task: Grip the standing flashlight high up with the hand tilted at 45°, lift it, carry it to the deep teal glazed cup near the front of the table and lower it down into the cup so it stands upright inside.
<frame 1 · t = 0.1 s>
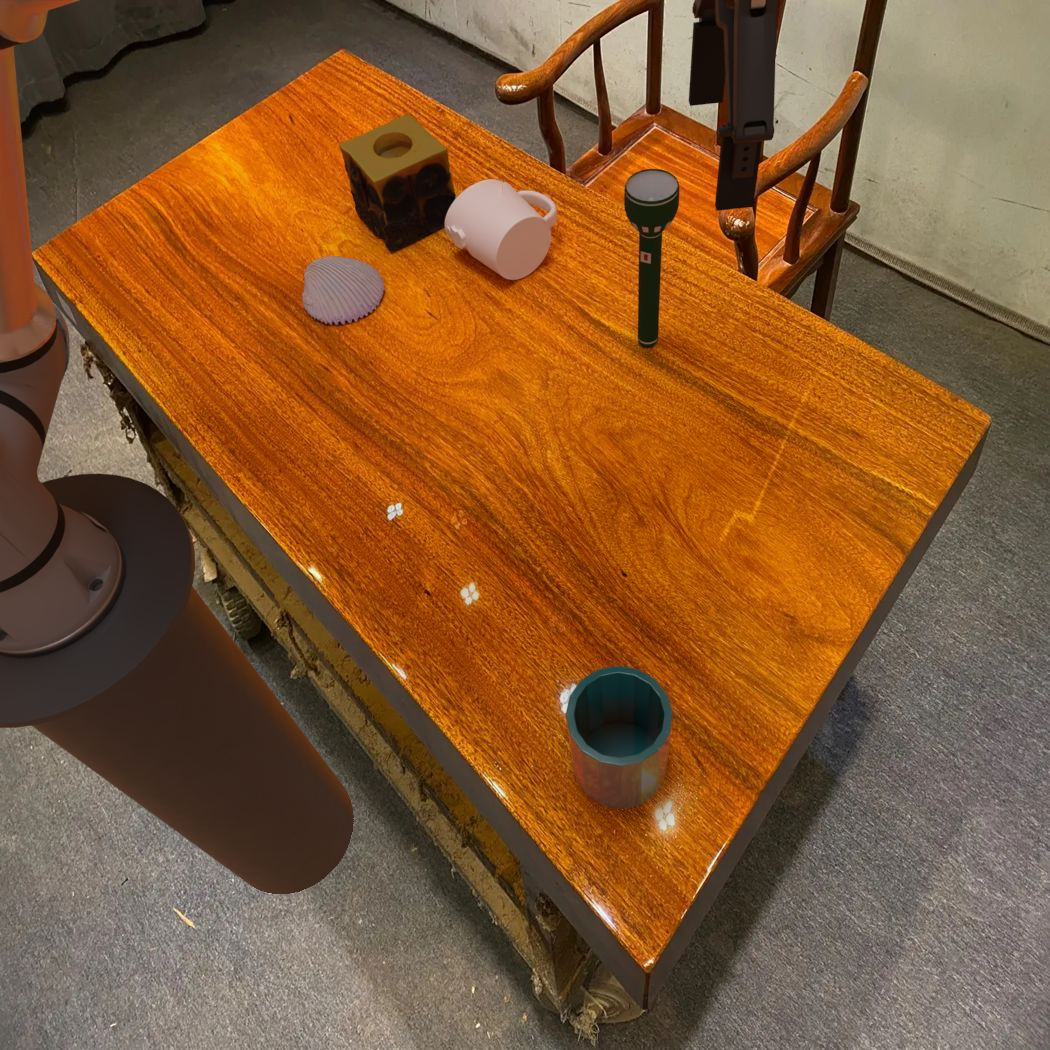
hand: (718, 151, 73), 29 cm above the table, tool pointing down, fingers open, 13 cm apart
flashlight: (647, 343, 102), on the table
cup: (619, 762, 76), on the table
mug: (512, 253, 113), on the table
seashell: (343, 296, 111), on the table
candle: (407, 218, 118), on the table
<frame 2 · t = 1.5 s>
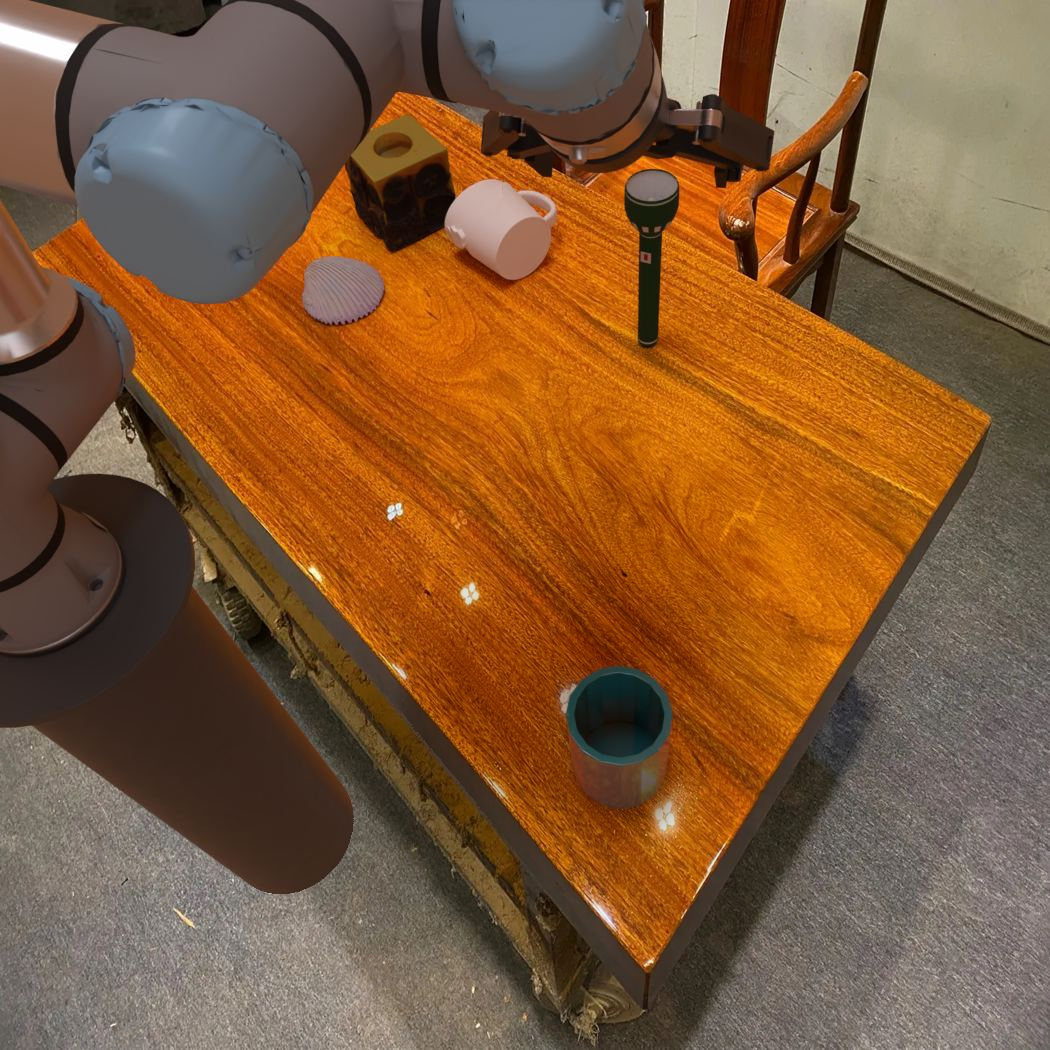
hand: (634, 164, 72), 29 cm above the table, tool tilted 45°, fingers open, 13 cm apart
nothing on the table moved.
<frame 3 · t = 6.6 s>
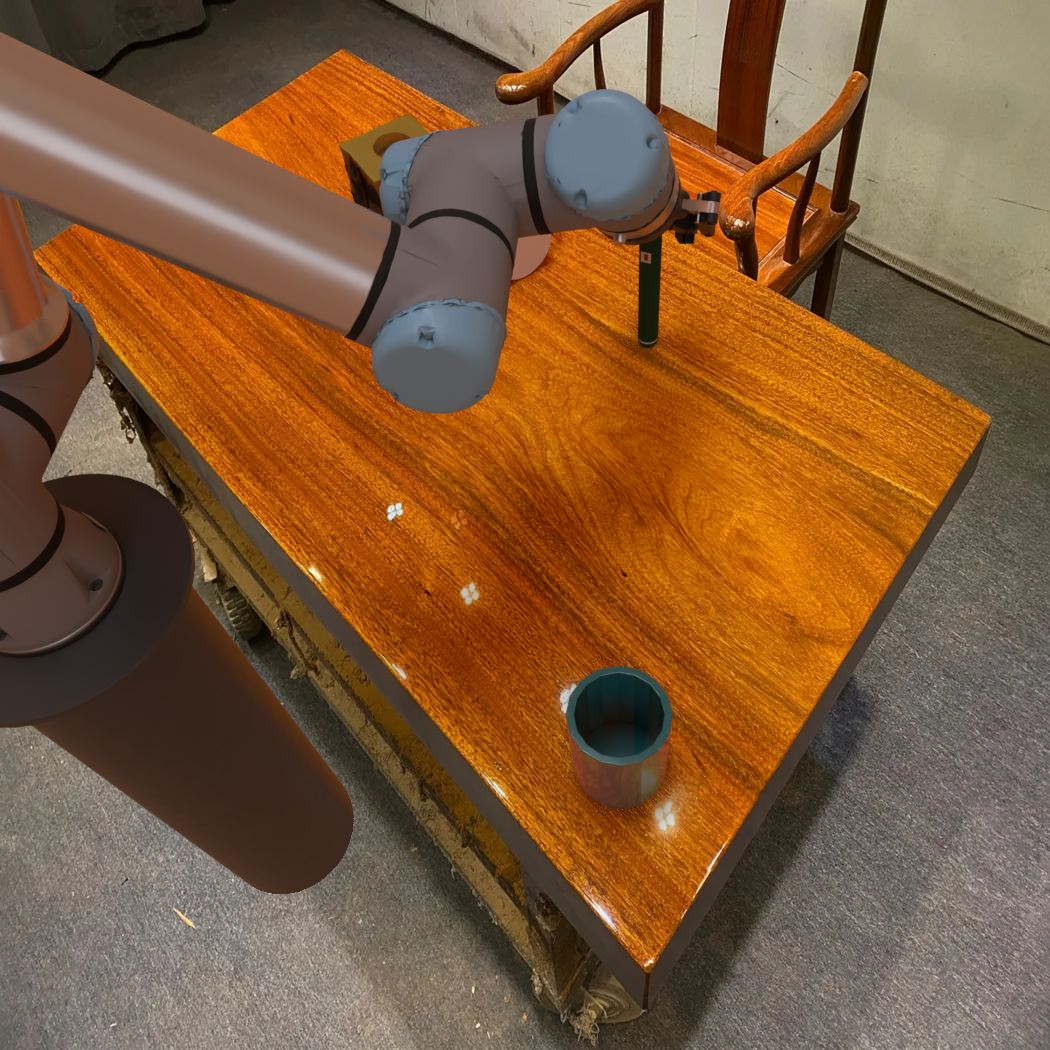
hand: (655, 227, 94), 12 cm above the table, tool tilted 45°, fingers closed on flashlight, 5 cm apart
flashlight: (647, 343, 102), on the table, touching gripper
everything else where it was.
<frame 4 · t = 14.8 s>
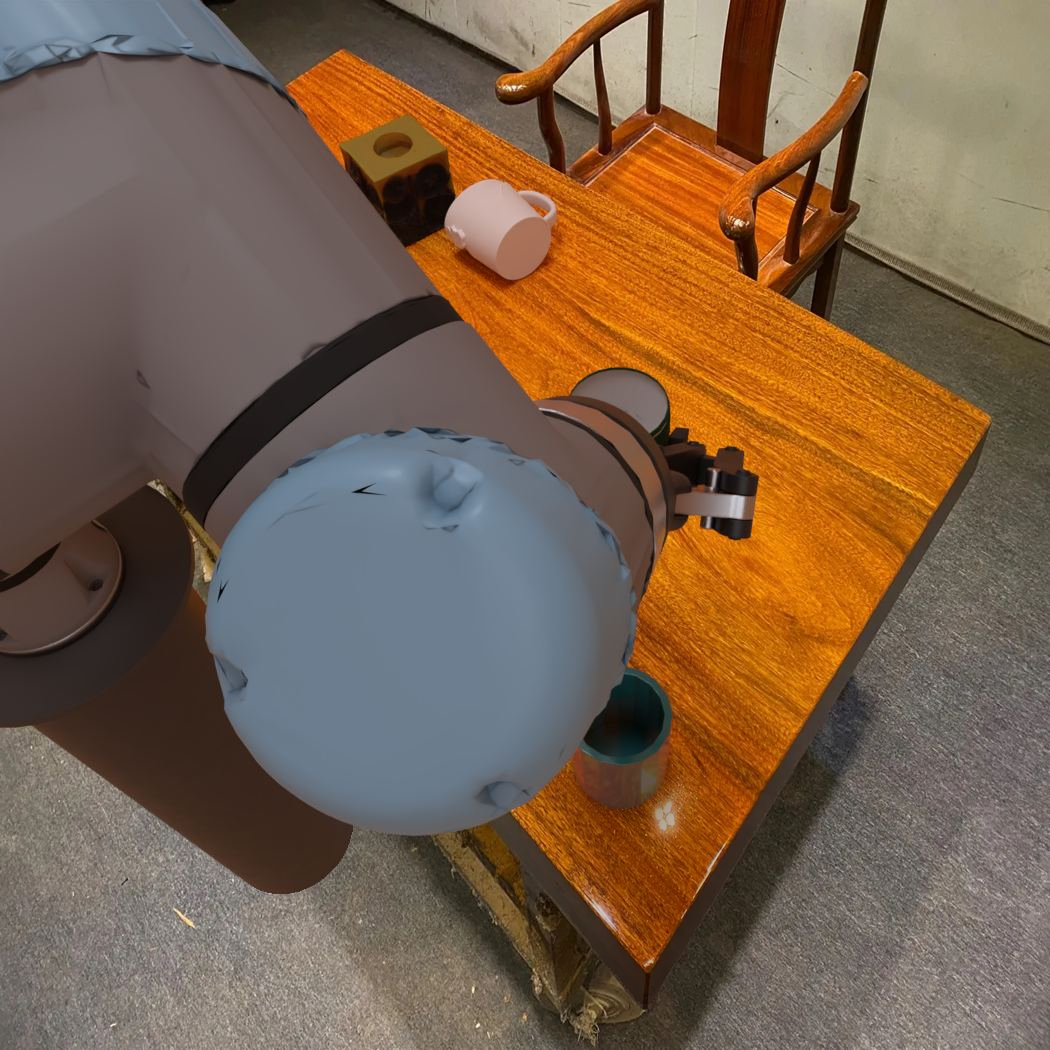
hand: (628, 445, 53), 32 cm above the table, tool tilted 45°, fingers closed on flashlight, 5 cm apart
flashlight: (618, 609, 61), point 20 cm above the table, touching gripper
everything else where it was.
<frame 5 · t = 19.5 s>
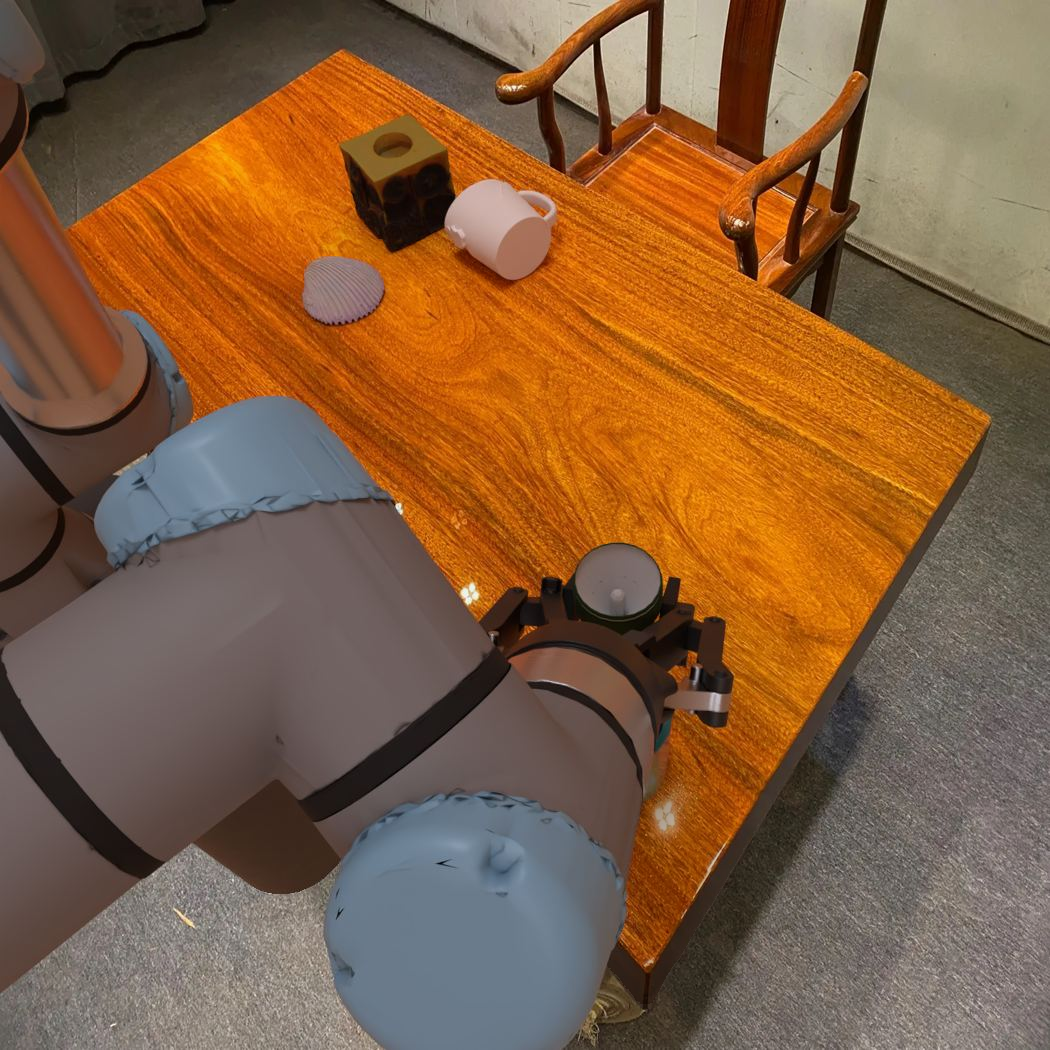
hand: (627, 591, 60), 21 cm above the table, tool tilted 45°, fingers closed on flashlight, 5 cm apart
flashlight: (618, 719, 68), point 9 cm above the table, touching gripper
everything else where it was.
when the fingers open (13 cm above the table, at t = 23.1 s): flashlight stays where it is, resting on cup.
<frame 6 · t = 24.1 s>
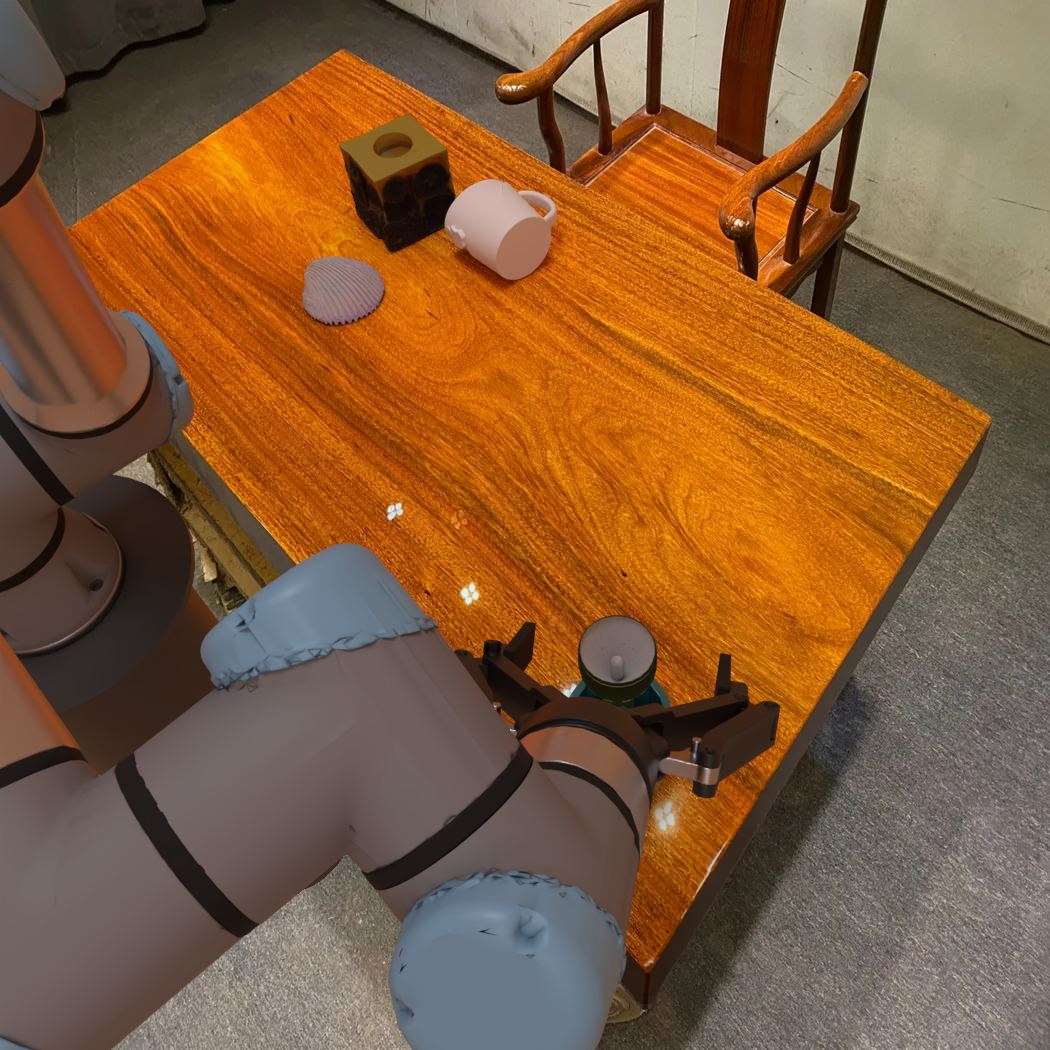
hand: (624, 655, 65), 15 cm above the table, tool tilted 45°, fingers open, 13 cm apart
flashlight: (619, 761, 75), resting on cup
everything else where it was.
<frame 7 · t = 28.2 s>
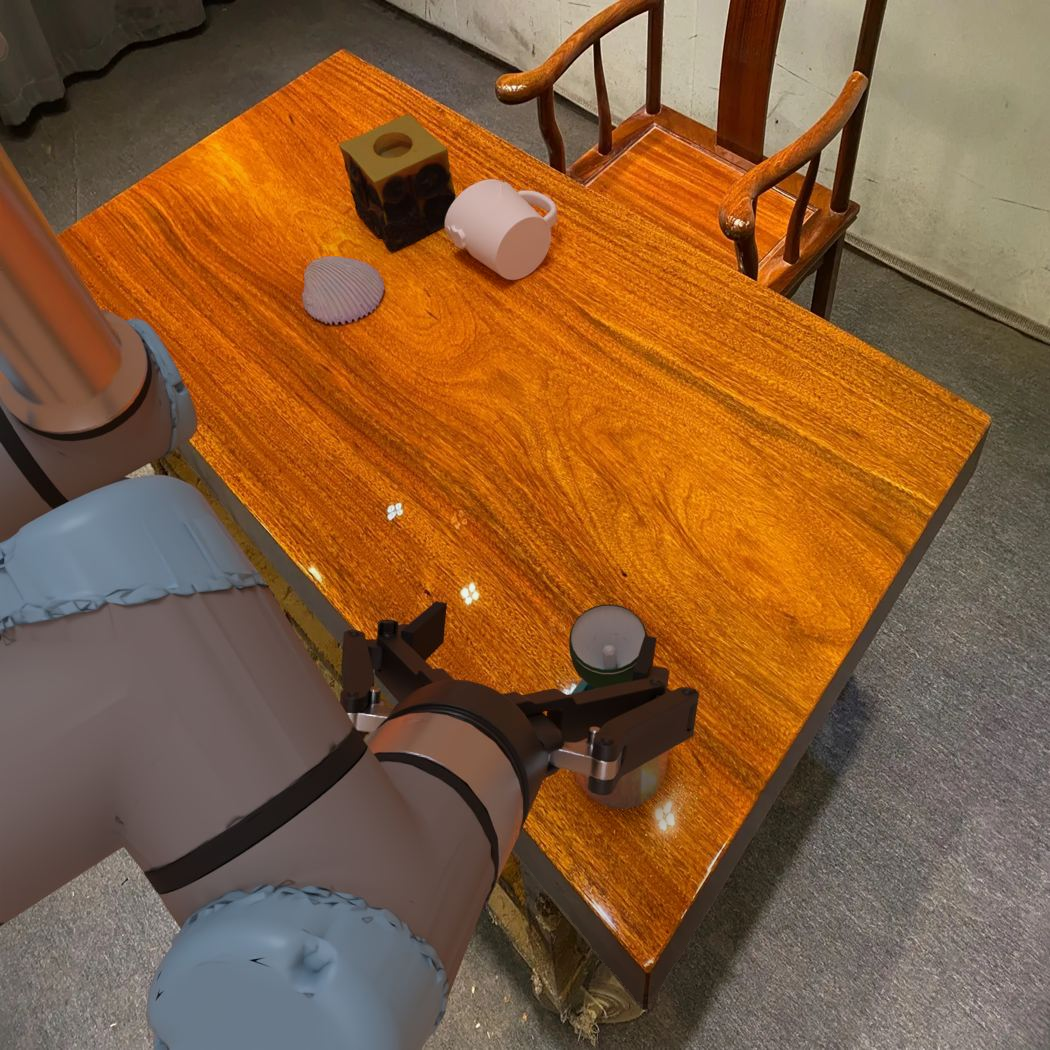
hand: (541, 638, 59), 21 cm above the table, tool tilted 45°, fingers open, 13 cm apart
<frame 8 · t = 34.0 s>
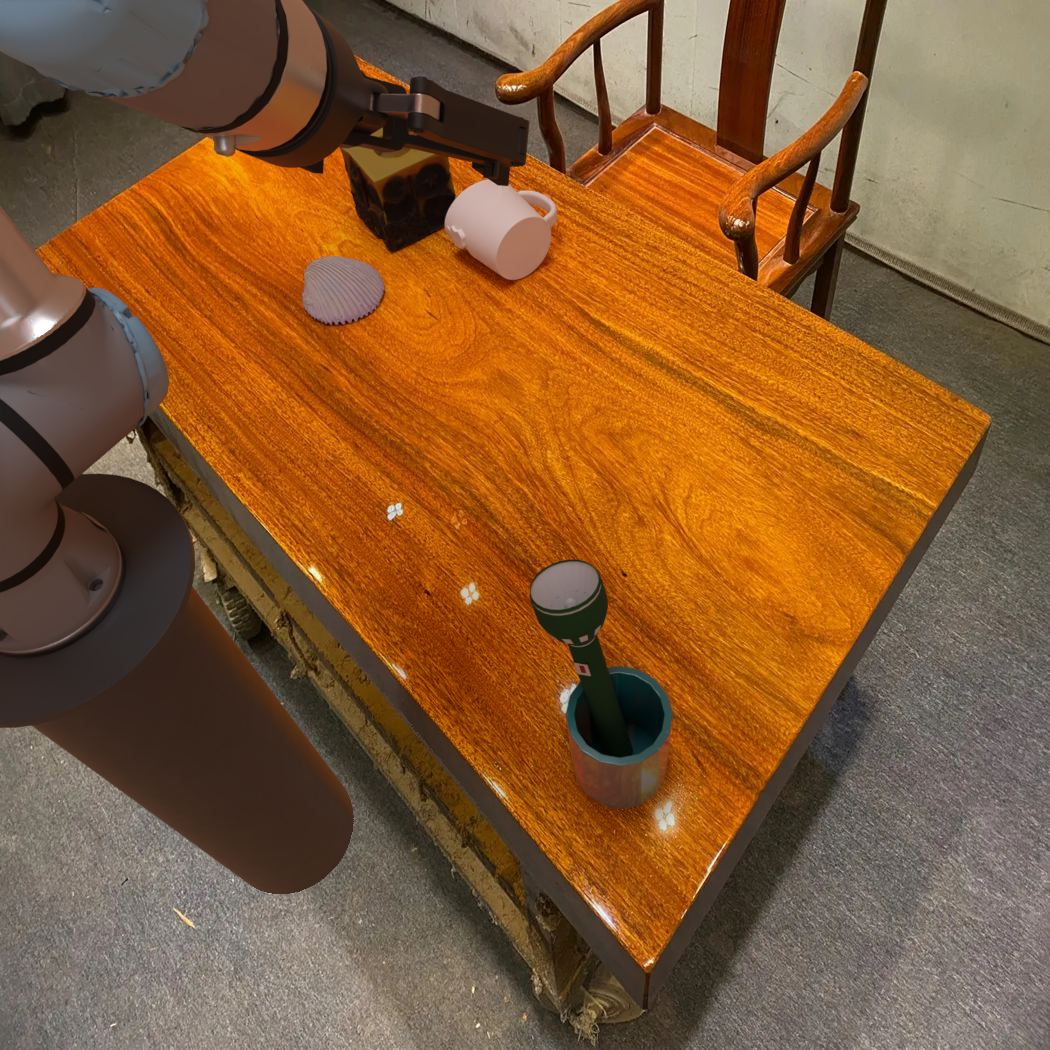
hand: (410, 159, 65), 36 cm above the table, tool tilted 45°, fingers open, 13 cm apart
at the end: flashlight 0.3 cm off-centre in the cup, point 0.8 cm above the cup's base; flashlight tilted 19°; the gripper is holding nothing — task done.
